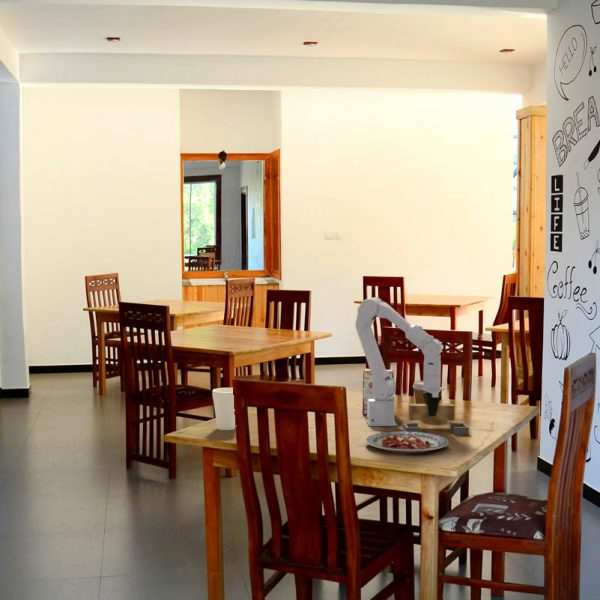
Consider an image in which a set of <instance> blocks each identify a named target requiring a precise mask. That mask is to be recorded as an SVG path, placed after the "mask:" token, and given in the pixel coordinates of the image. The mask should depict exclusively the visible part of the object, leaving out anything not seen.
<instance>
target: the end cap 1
mask: <svg viewBox="0 0 600 600" xmlns="http://www.w3.org/2000/svg"><path fill="white" fill-rule="evenodd" d="M402 427H403V428H402V430H403V431H408V432H422V426H421V427H420V426H419V424H418V422H409V423H408V422H404V423H402Z"/></svg>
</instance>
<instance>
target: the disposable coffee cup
mask: <svg viewBox="0 0 600 600" xmlns="http://www.w3.org/2000/svg"><path fill="white" fill-rule="evenodd" d="M412 388H413V393H414V400H415V401H414V404H425V400H424V397H423V395H422V393H424V392H426V391H423V380H417V381H414V382H413V385H412Z"/></svg>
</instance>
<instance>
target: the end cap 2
mask: <svg viewBox="0 0 600 600" xmlns="http://www.w3.org/2000/svg"><path fill="white" fill-rule="evenodd" d="M469 428H470V427H469V426H468V425H467V424H466V423H465V422H449V431H450V432H453V435H454V436H469V435H470V434H469V433H470V431H469V430H470V429H469Z"/></svg>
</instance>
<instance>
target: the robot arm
mask: <svg viewBox="0 0 600 600" xmlns="http://www.w3.org/2000/svg"><path fill="white" fill-rule="evenodd" d="M376 318H379V319H380V318H381V319H386V320H388V321H389V322H391V323H392V324H393V325H395V326H397V327H398V328H399V329H400V330H402V332H404V334H405V338H406V339H407V340H409V342H411V343H412V344H413V345H414V346H416V347H417V348H418V349H419V350H421V352H422V354H423V356H424V357H423V359H424V360H423V379H422V381H423V391H426V392H424V393H422V395H423V397H424V400H425V404H427V405H428V412H429V416H436V413H437V408H438V404H440V402H441V400H442V398H443V397H442V396H441V395H440V392H441V391H444V390H445V389H444V387H441V375H442V374H441V370H442V365H441V364H442V362H441V361H442V360H441V357H442V356H441V352H442V351H443V345H442V342H441V341H440V340H439V339H437V338H434V336H433V334H432V335H430V334H428V332H426V331H425V330H424V327H423V326H422V325H417V324H411V323H410V322H409V321H408V320H407V319H405V318H404V317H403V316H402V315H400V314H399V312H397V311H396V310H395V309H394V308H393V307H392V306H391V305H389V303H387V302H385V301H383V299H381V298H379V297H376V296H374V297H370V298H366V299H364V300H362V301H361V303H360V305H359V306H357V316H356V320H355V329H356V332H357V335H358V338H359V341H360V344H361V347H362V349H363V352H364V355H365V359H366V361H367V364H368V369H370V370H371V373H372V384H373V388H372V392H373V395H374V399H368V403H367V415H366V422H367V424H368V426H369V427H398V426H397V425H398V424H397V423H396V421H395V406H396V405H395V395H394V396H393V393H394V394H395V392H396V389H397V384H396V382H395V380H394V381H393V380H392V379H391V377H390V375H389V373H388V371H387V370H388V369H386V366H385V363H384V361H383V358H382V357H383V356H382V355H381V352H380V349H379V346H378V343H377V341H376V337H375V334H374V332H373V329H372V325H373V323H374V322H375V320H376Z"/></svg>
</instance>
